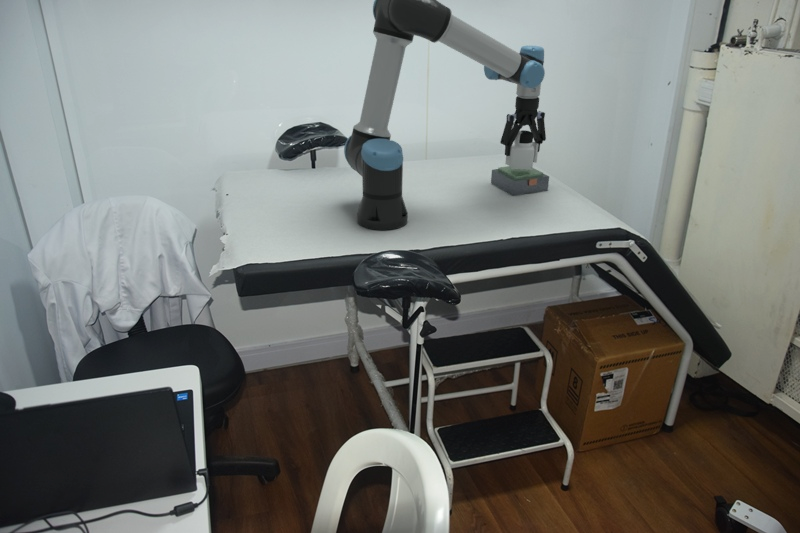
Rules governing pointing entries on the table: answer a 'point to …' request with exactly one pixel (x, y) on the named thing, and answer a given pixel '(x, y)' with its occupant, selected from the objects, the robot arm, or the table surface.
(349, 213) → the table surface
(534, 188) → the stand
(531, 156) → the medicine bottle
